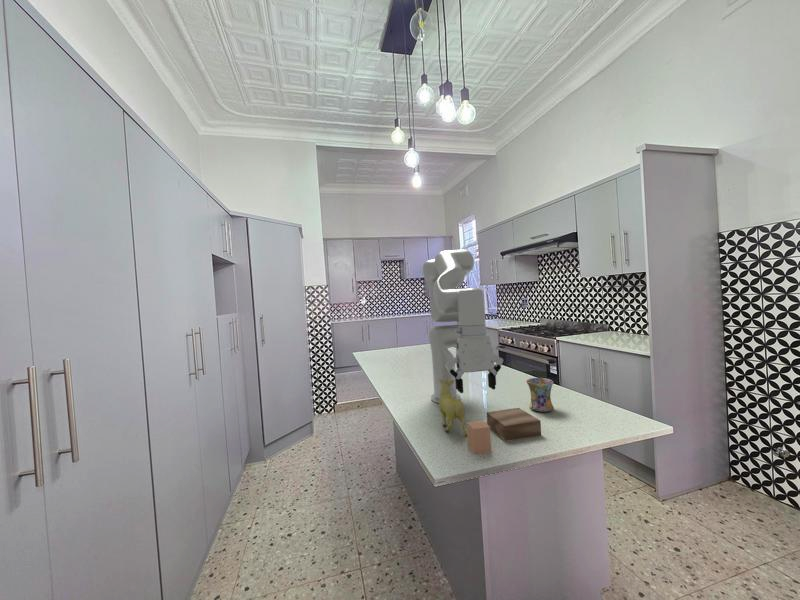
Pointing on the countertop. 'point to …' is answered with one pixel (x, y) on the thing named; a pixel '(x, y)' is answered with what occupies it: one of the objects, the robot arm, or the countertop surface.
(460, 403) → the toy
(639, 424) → the countertop surface
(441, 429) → the countertop surface
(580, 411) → the countertop surface
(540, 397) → the mug
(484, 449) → the terracotta block
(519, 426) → the walnut box
